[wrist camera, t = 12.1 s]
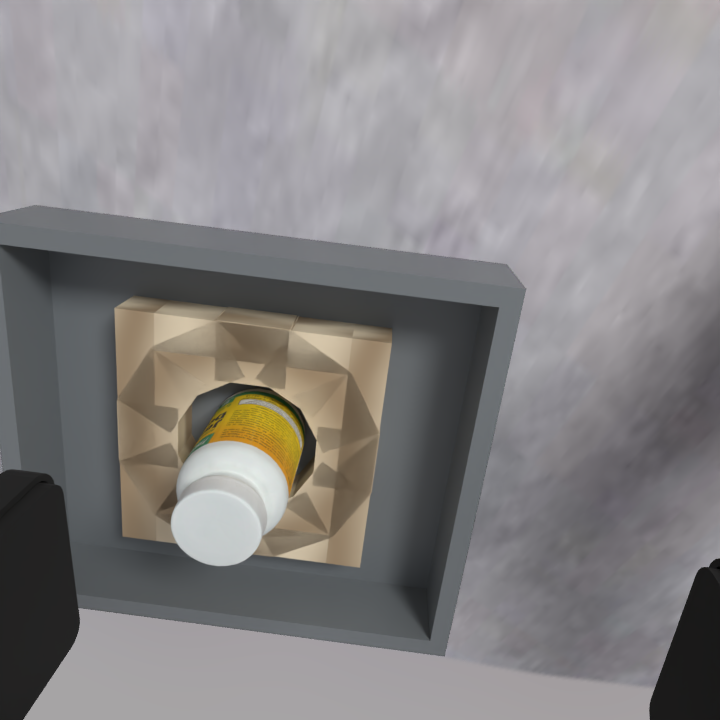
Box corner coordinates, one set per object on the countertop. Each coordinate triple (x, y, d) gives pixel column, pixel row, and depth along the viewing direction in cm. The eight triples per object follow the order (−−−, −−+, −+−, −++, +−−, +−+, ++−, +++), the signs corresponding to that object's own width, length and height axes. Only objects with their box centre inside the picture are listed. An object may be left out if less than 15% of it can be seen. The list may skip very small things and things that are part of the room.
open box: (507, 264, 32) (526, 288, 27) (438, 594, 40) (444, 656, 35) (35, 205, 32) (-27, 219, 27) (62, 544, 40) (18, 599, 35)
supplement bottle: (290, 479, 36) (255, 596, 27) (204, 449, 36) (140, 558, 27) (319, 404, 34) (293, 503, 25) (229, 371, 34) (170, 460, 25)
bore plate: (393, 327, 32) (392, 342, 30) (362, 542, 38) (360, 568, 35) (132, 294, 33) (113, 307, 30) (137, 512, 38) (121, 537, 36)
